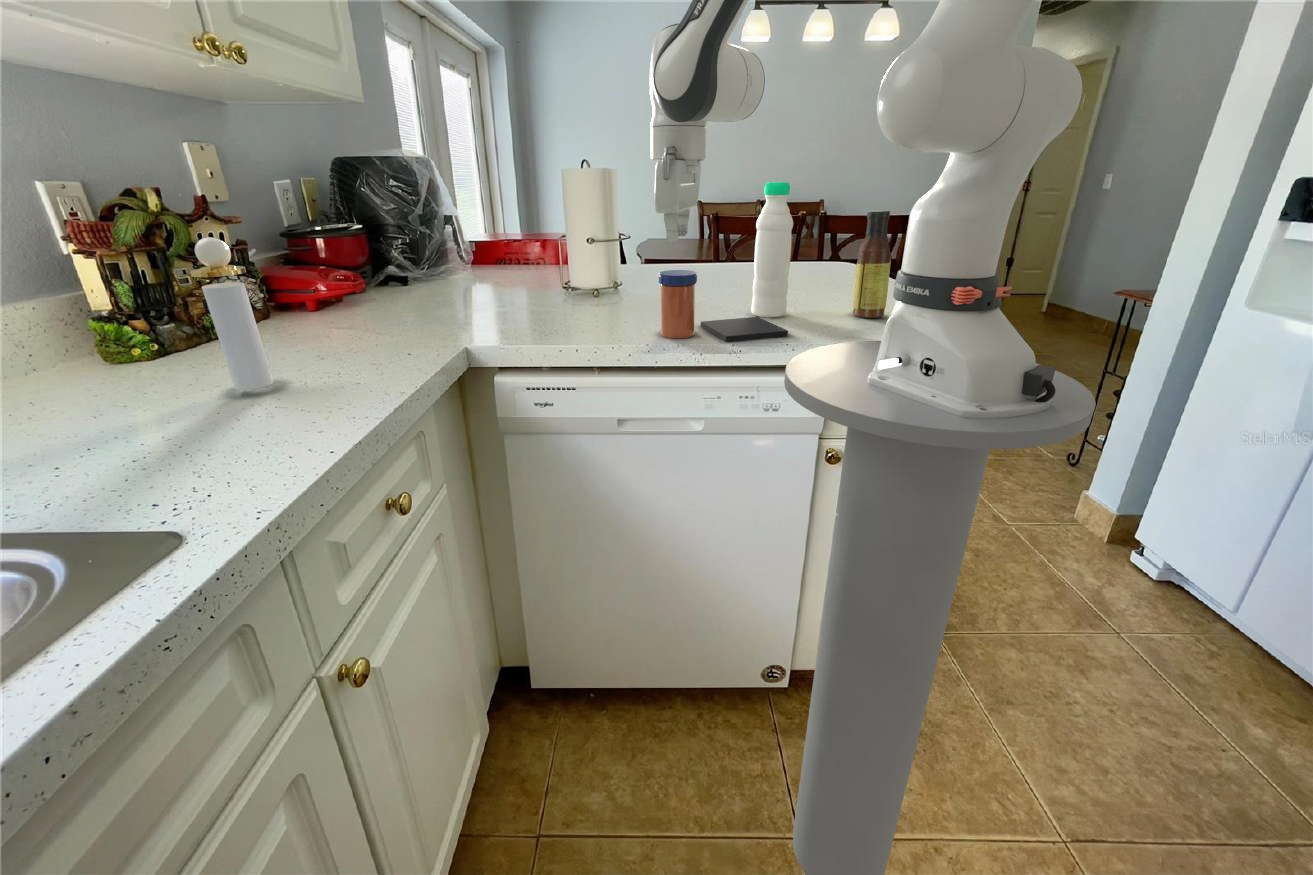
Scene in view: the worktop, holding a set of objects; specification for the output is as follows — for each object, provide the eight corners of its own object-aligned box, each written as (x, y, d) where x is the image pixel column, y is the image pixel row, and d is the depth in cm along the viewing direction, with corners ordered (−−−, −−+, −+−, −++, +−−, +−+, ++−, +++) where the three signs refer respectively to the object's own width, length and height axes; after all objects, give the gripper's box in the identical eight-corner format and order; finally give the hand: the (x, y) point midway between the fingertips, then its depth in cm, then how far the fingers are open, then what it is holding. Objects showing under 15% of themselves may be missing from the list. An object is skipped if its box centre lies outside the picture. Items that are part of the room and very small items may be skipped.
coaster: (787, 336, 104) (788, 330, 103) (725, 342, 100) (726, 336, 100) (757, 321, 114) (757, 316, 114) (700, 326, 111) (700, 321, 111)
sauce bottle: (890, 316, 117) (907, 210, 109) (870, 320, 114) (886, 211, 106) (863, 310, 122) (877, 209, 114) (843, 314, 119) (856, 210, 110)
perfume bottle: (288, 386, 81) (245, 236, 73) (244, 399, 77) (193, 240, 69) (266, 380, 84) (221, 234, 76) (222, 392, 80) (170, 238, 71)
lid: (702, 284, 100) (702, 274, 99) (666, 286, 98) (666, 276, 98) (688, 278, 106) (688, 269, 105) (654, 280, 104) (654, 271, 103)
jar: (699, 336, 104) (700, 277, 100) (667, 339, 102) (667, 279, 98) (687, 329, 109) (688, 272, 105) (657, 331, 108) (656, 274, 103)
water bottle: (782, 319, 116) (793, 182, 105) (747, 316, 118) (755, 182, 108) (788, 312, 122) (799, 181, 112) (754, 309, 124) (762, 181, 114)
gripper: (686, 145, 84) (685, 246, 89) (706, 149, 102) (704, 233, 107) (643, 146, 85) (645, 245, 91) (670, 150, 103) (670, 232, 109)
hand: (677, 238), depth 99 cm, fingers open, 7 cm apart
